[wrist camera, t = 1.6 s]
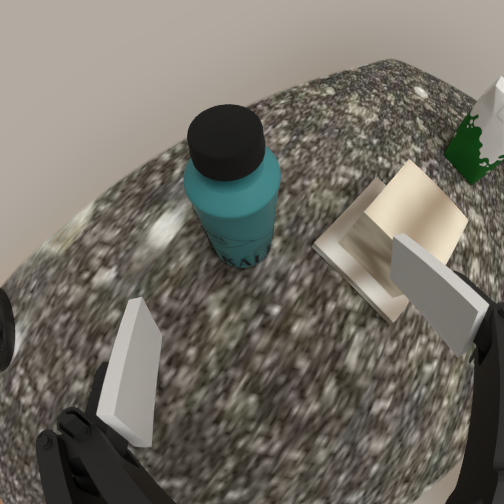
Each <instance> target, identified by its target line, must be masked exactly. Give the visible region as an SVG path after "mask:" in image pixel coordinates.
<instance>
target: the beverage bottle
mask: <svg viewBox="0 0 504 504" xmlns="http://www.w3.org/2000/svg"><path fill="white" fill-rule="evenodd" d="M187 140H188V144H189V149H190V157H191V158H190V159H189V161H188V163H187V165H186V168H185V172H184V188H185V191H186V194H187V196H188V198H189V200H190V201H191V203H192V204H193V205H192V207H193V206H194V208H195V211H196V212H195V211H194V213H197V214H196V217H199V218H198V219H200V220H199V221H201V223H202V225H203V226H202V225H201V226H202V228H203V227H204V229H205V231H206V232H205V234H207V235H208V236H207V237H209V238H208V239H210V240H211V242H212V245H213V246H214V248H215V250H216V252H215V253H216V254H218V256H219V257H220V258H221V259H222V260H223V261H224V262H225V263H227V264H228V265H230V266H232V267H236V268H237V269H238V268H245V269H247V267H252V266H254V265H256V264H258V263H259V264H260V262H261V261H262V260H264V259H265V257H266V255H267V254H268V253H269V249H270V246H271V245H272V244H271V241H272V240H273V239H272V235H273V234H274V232H273V231H274V230H273V228H274V222H275V213H276V212H275V210H276V203H277V195H278V189H279V185H280V179H281V171H280V166H279V163H278V161H277V159H276V157H275V155H274V154H273V153H272V152H271V150H270V149H269V148H267V147H266V146H265V138H264V134H263V126H262V123H261V121H260V119H259V117H258V116H257V115H256V114H255V113H254V112H253V111H251V110H250V109H248V108H246V107H243V106H239V105H231V104H229V105H228V104H225V105H218V106H214V107H211V108H209V109H207V110H205V111H203V112H202V113H200V114H199V115H198V116H196V117H195V119H194V120H193V121H192V123H191V124H190V126H189V129H188V135H187ZM194 208H193V209H194ZM197 215H198V216H197ZM276 217H277V216H276ZM198 219H197V220H198ZM276 221H277V220H276ZM203 231H204V230H203ZM273 238H274V237H273ZM209 242H210V241H209ZM211 242H210V244H211ZM271 247H272V246H271ZM215 250H214V251H215ZM222 260H221V261H222ZM225 263H224V264H225Z"/></svg>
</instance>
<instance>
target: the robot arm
mask: <svg viewBox="0 0 504 504" xmlns="http://www.w3.org/2000/svg"><path fill="white" fill-rule="evenodd" d="M389 279H390V280H391V281H392V282H393V283H394V284H395V285H396V286H397V287H398V288H399V289H400V291H401V292H402V293H403V294H404V295H405V296H406V297H407V298H408V299H409V300H410V302H411V303H412V304H413V305H414V306H415V307H416V308H417V309H418V311H419V312H420V313H421V314H422V315H423V316H424V317H425V319H426V320H427V321H428V322H429V323H430V325H431V326H432V327H433V328H434V329H435V330H436V332H437V333H438V334H439V335H440V336H441V338H442V339H443V340H444V341H445V343H446V344H447V345H448V346H449V348H450V349H451V350H452V351H453V353H454V354H455V355H456V356H457V358H458V357H460V356H462V355H463V354H465V353H466V352H468V351H469V349H470V347H471V345H472V343H473V342H474V343H475V344H476V345H477V346H476V348H475V350H474V351H473V353H472V355H471V357H470V359H469V363H471V361H472V359H473V358H474V356H475V361H474V389H473V401H472V411H471V419H470V426H469V433H468V439H467V444H466V449H465V454H464V458H463V463H462V467H461V471H460V474H459V479H458V482H457V485H456V487H455V489H454V491H453V492H452V494H451V495H450V496H449V498H448V499H447V501H446V503H445V504H504V302H500V303H497V304H496V303H494V302H493V301H492V300H491V299H490V298H489V297H488V296H487V295H486V294H485V293H484V292H483V291H482V290H480V289H479V288H478V287H476V285H475V284H474V283H473V282H471V281H470V280H469V279H468V278H467V277H466V276H464V275H463V274H461V273H459V272H457V271H453V272H452V271H451V270H450V269H449V268H448V267H447V266H445V265H444V264H443V263H442V262H440V261H439V260H438V259H437V258H436V257H434V256H433V255H432V254H431V253H429V252H428V251H427V250H425V249H424V248H423V247H422V246H420V245H419V244H418V243H416V242H415V241H414V240H412V239H411V238H410V237H408V236H407V235H406V234H404V233H403V234H399V235H395V236H393V244H392V258H391V269H390V278H389ZM14 340H15V329H14V319H13V313H12V309H11V305H10V302H9V300H8V297H7V295H6V294H5V292H4V291H3V290H2V289H1V288H0V372H1V371H3V370H5V369H6V368H7V367H8V365H9V363H10V361H11V358H12V355H13V350H14ZM161 343H162V334H161V333H160V331H159V329H158V327H157V325H156V323H155V321H154V319H153V317H152V316H151V314H150V312H149V310H148V308H147V306H146V304H145V302H144V300H143V298H142V297H140V298H135V299H130V300H129V301H128V304H127V307H126V310H125V313H124V316H123V319H122V322H121V325H120V328H119V331H118V334H117V337H116V341H115V344H114V347H113V351H112V354H111V357H110V361H109V362H102V364H101V365H100V367H99V368H98V370H97V371H96V374H95V377H94V383H93V385H92V388H91V389H92V391H91V392H90V396H89V400H88V403H87V408H86V412H85V414H84V413H83V412H82V411H81V410H80V409H79V408H76V407H69V408H67V409H65V410H64V411H63V412H62V413H61V414H60V415H59V417H58V420H57V429H58V430H59V431H60V432H61V433H62V434H61V435H57V434H56V433H55V432H53V431H52V430H49V429H48V430H44V431H42V432H41V433H40V434H39V435H38V437H37V440H36V452H37V459H38V466H39V472H40V477H41V482H42V487H43V491H44V496H45V500H46V504H176V503H175V502H174V501H173V500H172V499H171V498H170V497H169V496H168V495H167V494H166V493H165V492H164V491H163V490H162V488H161V487H160V486H159V485H158V484H157V483H156V482H155V481H154V479H153V478H152V477H151V476H150V475H149V474H148V472H147V471H146V470H145V469H144V468H143V466H142V465H141V464H140V463H139V461H138V460H137V459H136V458H135V456H134V455H133V454H132V452H131V451H130V450H129V449H127V447H128V442H129V443H131V444H132V445H133V446H135V447H152V431H153V417H154V405H155V394H156V384H157V375H158V367H159V358H160V351H161Z"/></svg>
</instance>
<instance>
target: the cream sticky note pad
mask: <svg viewBox="0 0 504 504" xmlns="http://www.w3.org/2000/svg"><path fill="white" fill-rule="evenodd" d="M467 222H468V219H467V218H466V217H465V216H464V215H463V213H462V212H461V211H460V210H459V209H458V208H457V207H456V205H455V204H454V203H453V202H452V201H451V200H450V199H449V198H448V197H447V196H446V195H445V194H444V192H443V191H442V190H441V189H440V188H439V187H438V186H437V185H436V184H435V183H434V182H433V181H432V180H431V179H430V178H429V177H428V176H427V175H426V174H425V173H424V172H423V171H422V170H421V169H419V168H418V167H417V166H416V165H415V164H414V163H413V162H412V161H411V160H410V159H409V160H408V161H407V162H406V163H405V165H404V166H403V167H402V168H401V169H400V171H399V172H398V173H397V174H396V175H395V177H394V178H393V179H392V180H391V181H390V182H389V184H388V185H387V186H386V185H385V184H384V183H383V182H382V181H380V180H379V179H378V178H377V177H376V178H375V179H374V180H373V181H372V182H371V184H370V185H369V186H368V187H367V188H366V189H365V190H364V191H363V192H362V193H361V194H360V195H359V196H358V197H357V199H356V200H355V201H354V202H353V203H352V204H351V205H350V206H349V207H348V208H347V209H346V210H345V211H344V212H343V213H342V214H341V215H340V216H339V217H338V219H337V220H336V221H335V222H334V223H333V224H332V225H331V226H330V227H329V228H328V229H327V230H326V231H325V232H324V233H323V234H322V235H321V236H320V237H319V238H318V239H317V240H316V241H315V242H314V243H313V245H312V248H313V249H314V250H315V251H316V252H317V253H318V254H319V255H321V256H322V257H323V258H324V259H325V260H326V261H327V262H328V263H329V264H330V265H331V266H332V267H333V268H334V269H335V270H336V271H337V272H338V273H339V274H340V275H341V276H342V277H343V278H344V279H345V280H346V281H347V282H348V283H349V284H350V285H351V286H352V287H353V288H354V289H355V290H356V291H357V292H358V293H359V294H360V295H361V296H362V297H363V298H364V299H365V300H366V301H367V302H368V303H369V304H370V305H371V306H372V307H373V308H374V309H375V310H376V311H377V312H378V313H379V314H380V316H381V317H382V318H383V319H384V320H385V321H386V322H387V323H394V322H395V320H396V319H397V318H398V316H399V315H400V314H401V312H402V311H403V310H404V308H405V307H406V305H407V304H408V303H409V301H410V300H409V299H408V298H407V297H406V296H405V295H404V294H403V293H402V292H401V291H400V289H399V288H398V287H397V286H396V285H395V284H394V283H393V282H392V281H391V280H390V279H389V278H390V269H391V258H392V244H393V236H395V235H399V234H403V233H404V234H406V235H407V236H408V237H410V238H411V239H412V240H414V241H415V242H416V243H418V244H419V245H420V246H422V247H423V248H424V249H425V250H427V251H428V252H429V253H431V254H432V255H433V256H434V257H436V258H437V259H438V260H439V261H440V262H442V263H443V264H444V265H446V263H447V261H448V259H449V258H450V256H451V254H452V252H453V250H454V248H455V246H456V245H457V243H458V241H459V239H460V237H461V235H462V233H463V231H464V229H465V226H466V224H467Z"/></svg>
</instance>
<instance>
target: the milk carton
mask: <svg viewBox="0 0 504 504" xmlns="http://www.w3.org/2000/svg"><path fill="white" fill-rule="evenodd" d="M444 156H445V157H446V158H447V159H448V160H449V161H450V162H451V163H452V164H453V165H454V166H455V168H456V169H457V170H458V171H459V172H460V173H461V174H462V175H463V177H464V178H465V179H466V180H467V181H468V182H469V184H470V185H472V184H474V183H475V182H477V181H478V180H479V179H481V178H482V177H483V176H485V175H486V174H488V173H489V172H490V171H491V170H493V169H494V168H495V167H496V166H497V165H498V164H499V163H500V162H502V161H503V160H504V78H503V77H502V76H500V77H499V78H498V79H497V81H496V82H495V83H494V84H493V85H492V86H491V87H490V88H489V89H487V90H486V92H485V93H484V94H483V95H482V96H481V98H480V99H479V100H478V101H477V103H476V104H475V105H474V107H473V108H472V109H471V111H470V112H469V113H468V115H467V116H466V117H465V119H464V120H463V121H462V123H461V124H460V126H459V127H458V129H457V130H456V132H455V134H454V136H453V138H452V140H451V142H450V144H449V146H448V148H447V150H446V151H445V153H444Z"/></svg>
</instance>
